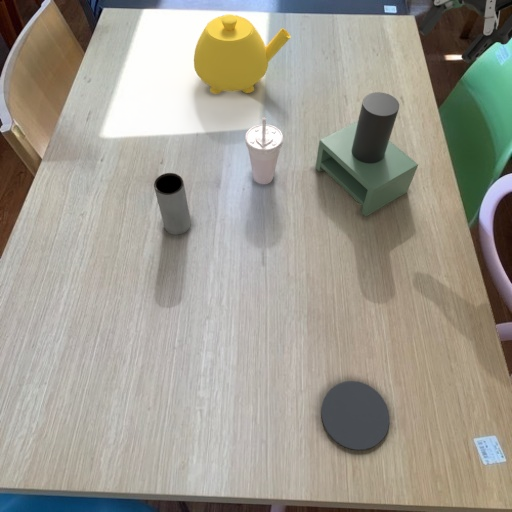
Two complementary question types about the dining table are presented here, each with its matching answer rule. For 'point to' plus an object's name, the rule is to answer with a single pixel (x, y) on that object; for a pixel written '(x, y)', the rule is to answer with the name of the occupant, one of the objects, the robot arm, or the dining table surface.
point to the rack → (365, 170)
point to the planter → (172, 203)
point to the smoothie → (263, 150)
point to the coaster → (355, 415)
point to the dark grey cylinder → (374, 127)
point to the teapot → (234, 54)
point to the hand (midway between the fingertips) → (442, 46)
